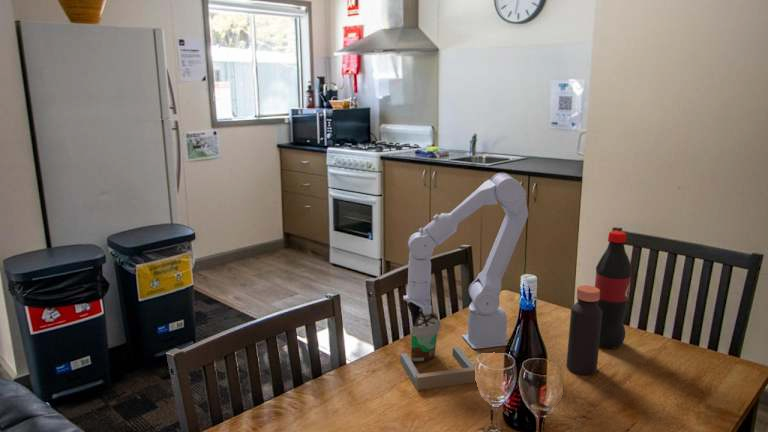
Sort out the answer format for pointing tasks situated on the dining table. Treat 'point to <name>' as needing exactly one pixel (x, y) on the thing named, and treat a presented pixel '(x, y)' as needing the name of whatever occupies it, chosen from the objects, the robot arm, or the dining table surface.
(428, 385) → the frame
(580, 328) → the dark grey water bottle
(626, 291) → the cola bottle
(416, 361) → the food container
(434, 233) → the robot arm
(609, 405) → the dining table surface
